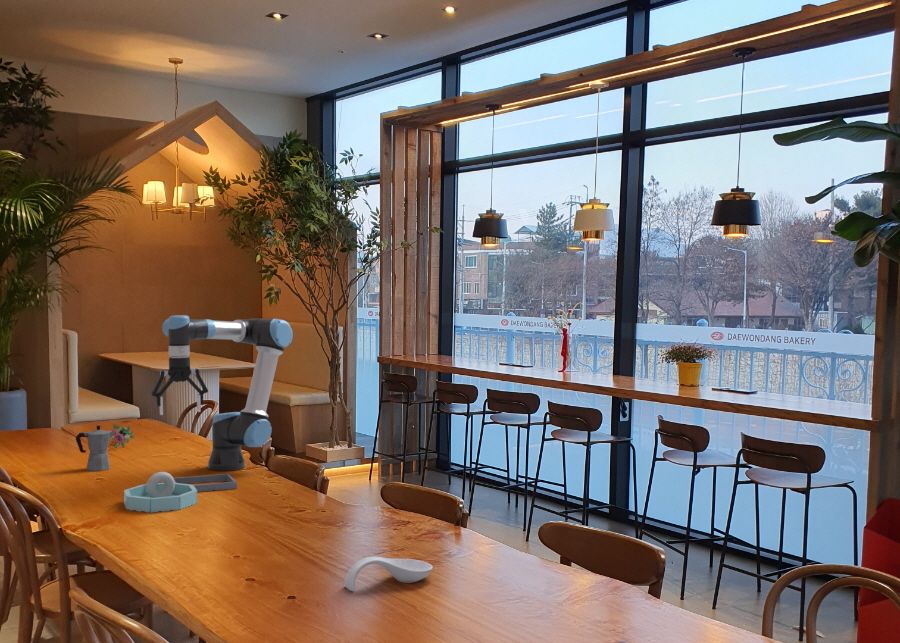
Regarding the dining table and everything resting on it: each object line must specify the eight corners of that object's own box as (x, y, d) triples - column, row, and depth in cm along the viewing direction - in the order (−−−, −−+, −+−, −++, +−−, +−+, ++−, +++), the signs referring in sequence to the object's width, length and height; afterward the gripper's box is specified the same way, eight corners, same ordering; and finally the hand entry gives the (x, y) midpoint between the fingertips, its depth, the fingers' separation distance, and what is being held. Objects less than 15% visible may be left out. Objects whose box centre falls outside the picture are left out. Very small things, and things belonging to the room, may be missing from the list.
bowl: (189, 493, 304) (189, 480, 303) (200, 507, 283) (200, 494, 283) (122, 498, 293) (122, 486, 293) (128, 514, 273) (128, 501, 273)
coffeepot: (111, 465, 349) (111, 422, 348) (118, 469, 342) (118, 425, 341) (72, 469, 339) (72, 425, 339) (78, 473, 332) (79, 428, 331)
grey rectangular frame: (228, 480, 326) (228, 473, 326) (236, 488, 312) (236, 482, 312) (170, 484, 316) (170, 478, 316) (176, 493, 302) (177, 486, 302)
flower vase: (131, 454, 410) (128, 451, 378) (106, 448, 407) (101, 444, 375) (139, 431, 413) (137, 426, 381) (114, 424, 410) (110, 419, 378)
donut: (147, 503, 284) (148, 474, 283) (144, 501, 286) (144, 472, 286) (176, 499, 290) (176, 470, 290) (172, 497, 293) (172, 469, 292)
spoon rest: (417, 569, 225) (418, 543, 225) (440, 582, 215) (441, 554, 215) (338, 583, 212) (338, 556, 212) (358, 598, 202) (358, 569, 202)
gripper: (145, 359, 301) (146, 417, 302) (215, 356, 313) (216, 411, 314) (142, 357, 307) (143, 414, 309) (211, 354, 319) (211, 409, 320)
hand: (180, 413), depth 311 cm, fingers open, 13 cm apart
